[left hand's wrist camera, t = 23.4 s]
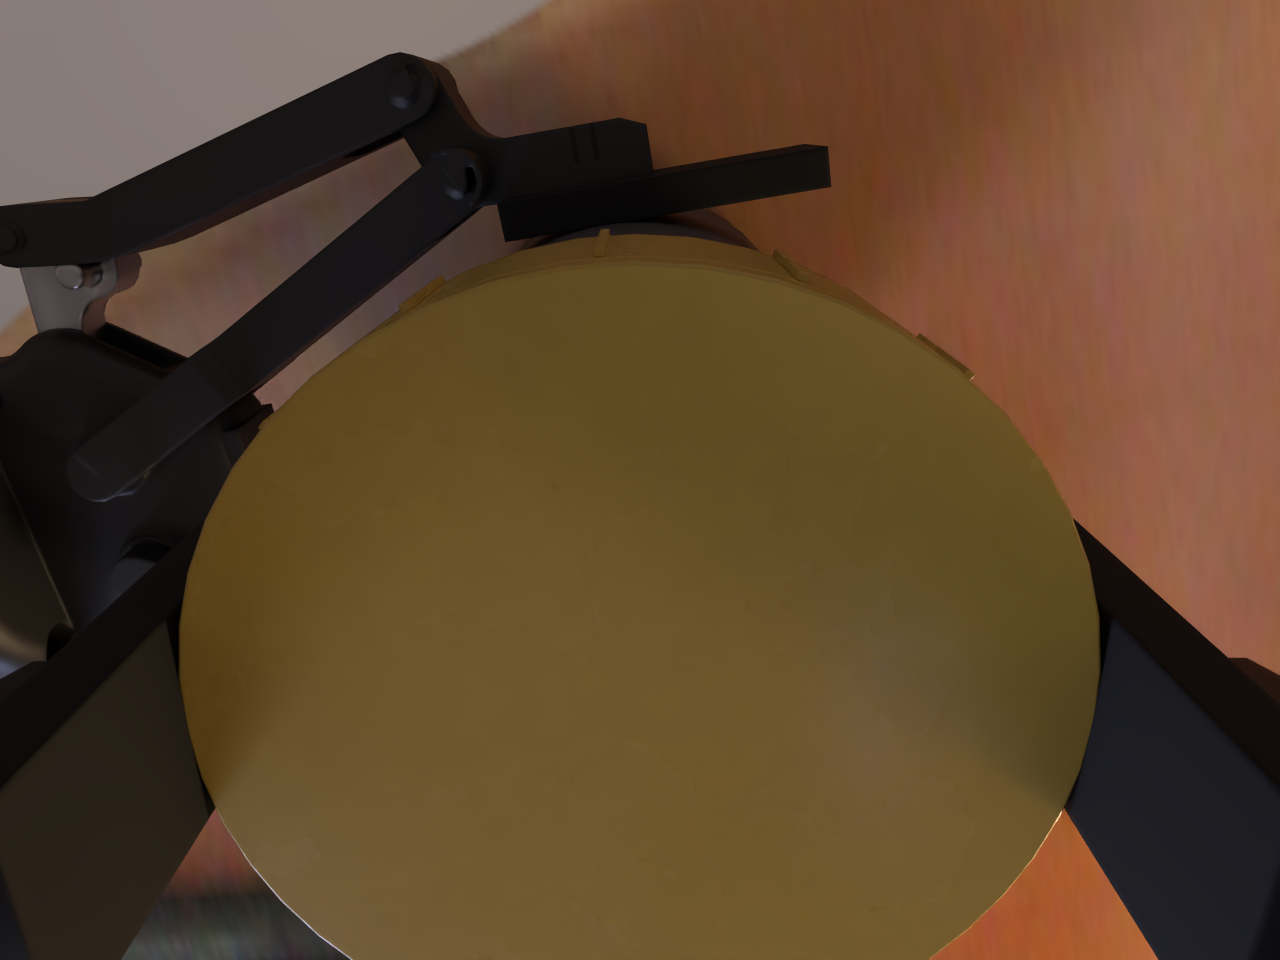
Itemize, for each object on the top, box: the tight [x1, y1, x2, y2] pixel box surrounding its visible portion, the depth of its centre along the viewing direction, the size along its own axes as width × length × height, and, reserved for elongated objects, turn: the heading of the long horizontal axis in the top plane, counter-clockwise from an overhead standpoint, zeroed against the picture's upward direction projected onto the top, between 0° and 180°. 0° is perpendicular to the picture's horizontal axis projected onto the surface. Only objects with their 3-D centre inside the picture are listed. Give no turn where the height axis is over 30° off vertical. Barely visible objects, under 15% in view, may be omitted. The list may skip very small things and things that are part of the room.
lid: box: [179, 229, 1101, 960], centre depth 11 cm, size 10×10×2 cm
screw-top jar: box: [520, 209, 760, 252], centre depth 19 cm, size 9×9×17 cm
